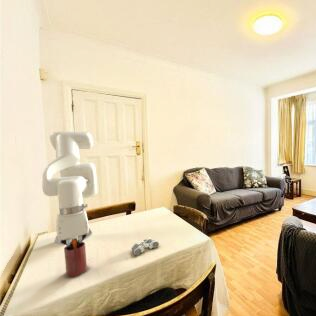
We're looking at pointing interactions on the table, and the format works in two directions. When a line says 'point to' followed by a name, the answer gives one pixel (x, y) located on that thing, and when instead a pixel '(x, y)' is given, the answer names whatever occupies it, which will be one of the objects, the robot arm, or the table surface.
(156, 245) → the binoculars
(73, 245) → the solid orange cylinder
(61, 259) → the table surface
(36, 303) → the table surface
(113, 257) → the table surface
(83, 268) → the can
